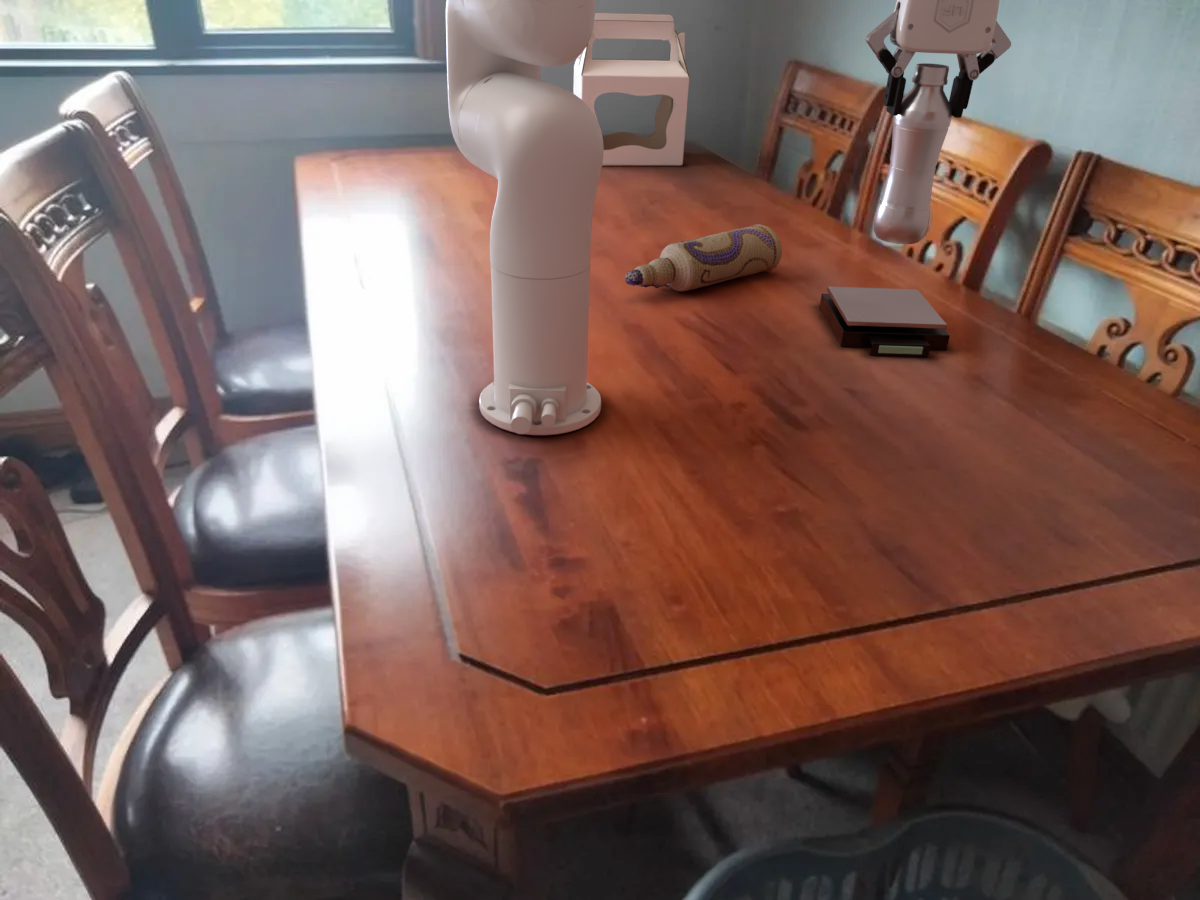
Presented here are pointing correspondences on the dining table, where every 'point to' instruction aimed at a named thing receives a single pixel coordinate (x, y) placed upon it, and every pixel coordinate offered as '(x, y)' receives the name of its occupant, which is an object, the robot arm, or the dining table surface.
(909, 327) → the scale
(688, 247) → the decorative bottle
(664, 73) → the gable box
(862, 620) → the dining table surface
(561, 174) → the robot arm
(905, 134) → the plastic bottle
